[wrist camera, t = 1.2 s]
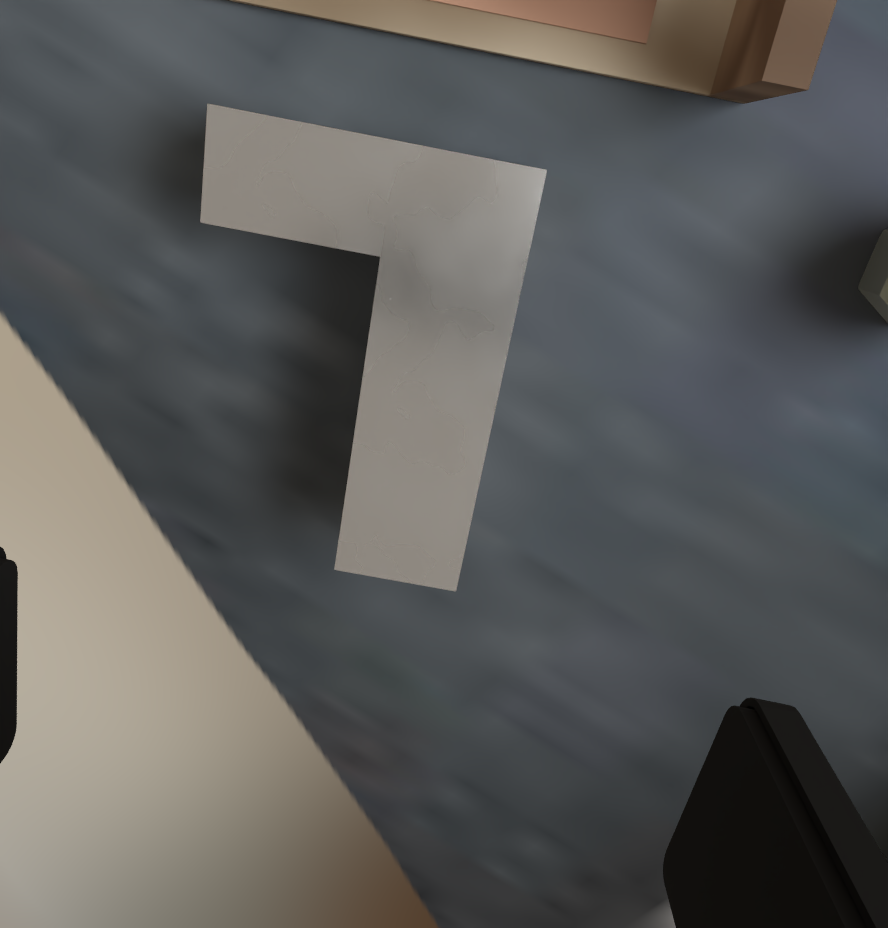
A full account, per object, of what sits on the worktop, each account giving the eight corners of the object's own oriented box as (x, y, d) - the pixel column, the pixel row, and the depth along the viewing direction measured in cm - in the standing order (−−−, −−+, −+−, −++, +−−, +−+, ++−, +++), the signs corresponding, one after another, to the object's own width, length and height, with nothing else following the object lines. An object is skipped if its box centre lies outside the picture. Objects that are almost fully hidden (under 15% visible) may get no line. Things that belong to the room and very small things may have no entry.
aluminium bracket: (459, 523, 30) (456, 591, 25) (227, 482, 29) (180, 542, 25) (533, 168, 25) (546, 169, 20) (257, 114, 25) (207, 103, 20)
